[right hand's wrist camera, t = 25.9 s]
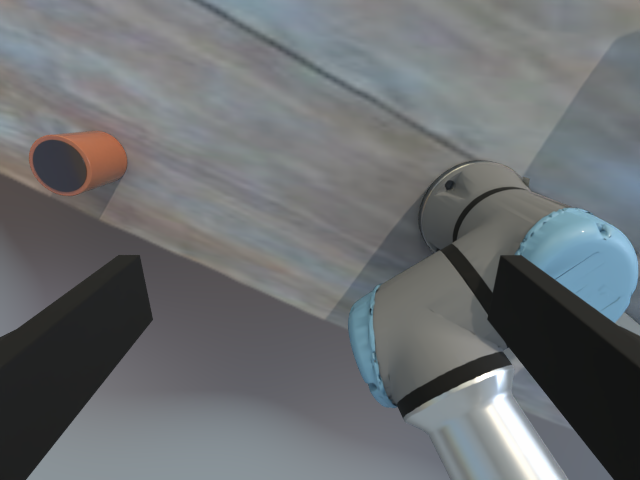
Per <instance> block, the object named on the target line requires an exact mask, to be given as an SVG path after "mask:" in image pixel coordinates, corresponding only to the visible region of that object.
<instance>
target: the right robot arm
mask: <svg viewBox="0 0 640 480" xmlns="http://www.w3.org/2000/svg"><path fill="white" fill-rule="evenodd" d="M529 180H530V179H528V178H525V177H523V178H522V177H521V176H520V175H519V174H517V173H516V172H515V171H513V170H512V169H510V168H509V167H507V166H504V165H502V164H499V163H495V162H491V161H483V160H478V161H469V162H465V163H462V164H459V165H457V166H455V167H453V168H451V169H449V170H447V171H446V172H444V173H443V174H442V175H441V176H439V177H438V178H437V179H436V180H435V181H434V183H433V184H432V185H431V186H430V188H429V189H428V191H427V192H426V194H425V196H424V198H423V201H422V203H421V207H420V212H419V226H420V231H421V234H422V236H423V239H424V240H425V242H426V244H427V245H428V246H429V248H430V249H431V250H432V251H433V252H434V254H432V255H431V256H429V257H428V258H426V259H424V260H423V261H421V262H419V263H417V264H416V265H414V266H412V267H411V268H409V269H407V270H405V271H404V272H402V273H400V274H399V275H397V276H395V277H393V278H392V279H390V280H388V281H387V282H385V283H383V284H379V285H377V286H376V287H375V288H374V290H373V291H371V292H370V293H368V294H367V295H365V296H364V297H362V298H361V299H359V300H358V301H357V302H356V303H355V304H354V305H353V306H352V308H351V311H350V314H349V320H348V330H349V337H350V342H351V346H352V350H353V354H354V357H355V360H356V363H357V365H358V368H359V371H360V373H361V375H362V377H363V379H364V381H365V382H366V383H368V385H369V388H370V392H371V393H372V395H373V396H374V398H375V399H376V400H377V401H378V402H379V403H380V404H381V405H382V406H384V407H392V408H396V407H398V408H399V410H400V413H401V415H402V417H403V419H404V421H405V422H406V423H408V424H410V425H412V426H414V427H417V428H419V429H421V430H423V431H424V432H425V433H427V434H428V435H429V437H430V439H431V441H432V443H433V445H434V447H435V449H436V451H437V453H438V455H439V457H440V459H441V461H442V463H443V465H444V467H445V469H446V471H447V473H448V475H449V477H450V479H451V480H569V479H568V478H567V476H566V475H565V473H564V472H563V470H562V469H561V467H560V466H559V464H558V463H557V461H556V460H555V458H554V457H553V455H552V454H551V452H550V451H549V449H548V448H547V446H546V445H545V443H544V442H543V440H542V439H541V437H540V436H539V434H538V433H537V431H536V430H535V428H534V427H533V425H532V424H531V422H530V421H529V419H528V418H527V416H526V415H525V413H524V412H523V410H522V409H521V407H520V406H519V404H518V403H517V401H516V400H515V398H514V397H513V394H512V384H513V377H514V371H515V368H514V367H513V365H512V364H511V363H510V361H509V360H508V358H507V357H506V355H505V354H504V352H503V350H505V349H507V348H508V347H509V348H510V349H511V350H512V352H513V353H514V354H515V355H516V357H517V358H518V359H519V360H520V362H521V363H522V364H523V366H524V367H525V368H526V369H527V371H528V372H529V373H530V374H531V376H532V377H533V378H534V379H535V381H536V382H537V383H538V384H539V386H540V387H541V388H542V389H543V391H544V392H545V393H546V395H547V396H548V397H549V398H550V400H551V401H552V402H553V403H554V405H555V406H556V407H557V408H558V410H559V411H560V412H561V413H562V415H563V416H564V417H565V418H566V420H567V421H568V422H569V424H570V425H571V426H572V427H573V429H574V430H575V431H576V432H577V434H578V435H579V436H580V437H581V439H582V440H583V441H584V442H585V444H586V445H587V446H588V448H589V449H590V450H591V451H592V453H593V454H594V455H595V456H596V458H597V459H598V460H599V461H600V463H601V464H602V465H603V466H604V468H605V469H606V470H607V471H608V473H609V474H610V475H611V477H612V478H613V479H614V480H640V336H639V335H637V334H635V333H633V332H631V331H629V330H627V329H625V328H623V327H621V326H618V325H617V324H615V322H616V321H617V320H618V319H619V318H620V317H621V316H622V314H623V313H624V311H625V310H626V308H627V307H628V305H629V303H630V298H631V295H632V294H633V292H634V290H635V289H636V285H637V280H638V261H637V256H636V253H635V251H634V248H633V246H632V244H631V243H630V241H629V240H628V238H627V237H626V236H625V235H624V234H623V233H622V232H621V231H620V230H619V229H617V228H616V227H614V226H613V225H611V224H609V223H607V222H605V221H603V220H601V219H599V218H597V217H596V216H594V215H593V214H592V213H590V212H588V211H586V210H583V209H578V208H573V207H570V206H568V205H565V204H563V203H560V202H557V201H555V200H552V199H549V198H547V197H544V196H542V195H539V194H536V193H534V192H531V191H530V189H529V187H528V186H529ZM152 320H153V318H152V313H151V308H150V303H149V298H148V294H147V289H146V284H145V279H144V274H143V269H142V264H141V259H140V255H118V256H117V257H115V258H114V259H113V260H111V261H110V262H109V263H107V264H106V265H104V266H103V267H102V268H100V269H99V270H98V271H96V272H95V273H93V274H92V275H91V276H89V277H88V278H86V279H85V280H84V281H82V282H81V283H80V284H78V285H77V286H76V287H74V288H73V289H71V290H70V291H69V292H67V293H66V294H64V295H63V296H62V297H60V298H59V299H58V300H56V301H55V302H53V303H52V304H51V305H49V306H48V307H47V308H45V309H44V310H43V311H41V312H40V313H38V314H37V315H36V316H34V317H33V318H32V319H30V320H29V321H27V322H26V323H25V324H23V325H22V326H21V327H19V328H18V329H16V330H14V331H12V332H10V333H8V334H6V335H4V336H2V337H0V480H26V479H27V478H28V476H29V475H30V474H31V473H32V471H33V470H34V469H35V468H36V466H37V465H38V464H39V463H40V461H41V460H42V459H43V458H44V456H45V455H46V454H47V453H48V451H49V450H50V449H51V448H52V446H53V445H54V444H55V442H56V441H57V440H58V439H59V437H60V436H61V435H62V434H63V432H64V431H65V430H66V429H67V427H68V426H69V425H70V424H71V422H72V421H73V420H74V418H75V417H76V416H77V415H78V413H79V412H80V411H81V410H82V408H83V407H84V406H85V405H86V403H87V402H88V401H89V400H90V398H91V397H92V396H93V394H94V393H95V392H96V391H97V389H98V388H99V387H100V386H101V384H102V383H103V382H104V381H105V379H106V378H107V377H108V376H109V374H110V373H111V372H112V371H113V369H114V368H115V367H116V365H117V364H118V363H119V362H120V360H121V359H122V358H123V357H124V355H125V354H126V353H127V352H128V350H129V349H130V348H131V347H132V345H133V344H134V343H135V341H136V340H137V339H138V338H139V336H140V335H141V334H142V333H143V331H144V330H145V329H146V328H147V326H148V325H149V324H150V323H151V321H152Z"/></svg>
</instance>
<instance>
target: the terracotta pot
mask: <svg viewBox="0 0 640 480" xmlns="http://www.w3.org/2000/svg"><path fill="white" fill-rule="evenodd" d="M29 163H30V167H31V170H32V172H33V174H34V175H35V177H36V178H37V180H38V181H39V182H40V183H41V184H42V185H43V186H44V187H45V188H47V189H48V190H50V191H52V192H54V193H56V194H59V195H64V196H74V195H78V194H80V193H83V192H86V191H89V190H92V189H95V188H97V187H100V186H103V185H106V184H109V183H111V182H114V181H117V180H118V179H120V178H121V177H122V176H123V175H124V173H125V171H126V168H127V157H126V153H125V151H124V149H123V147H122V146H121V144H120V143H119V142H118V141H117V140H116V139H115V138H114V137H113V136H111V135H109V134H107V133H105V132H102V131H85V132H75V133H65V134H54V135H46V136H43V137H41V138H39V139H38V140H36V141H35V142H34V144H33V145H32V147H31V149H30V153H29Z"/></svg>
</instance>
